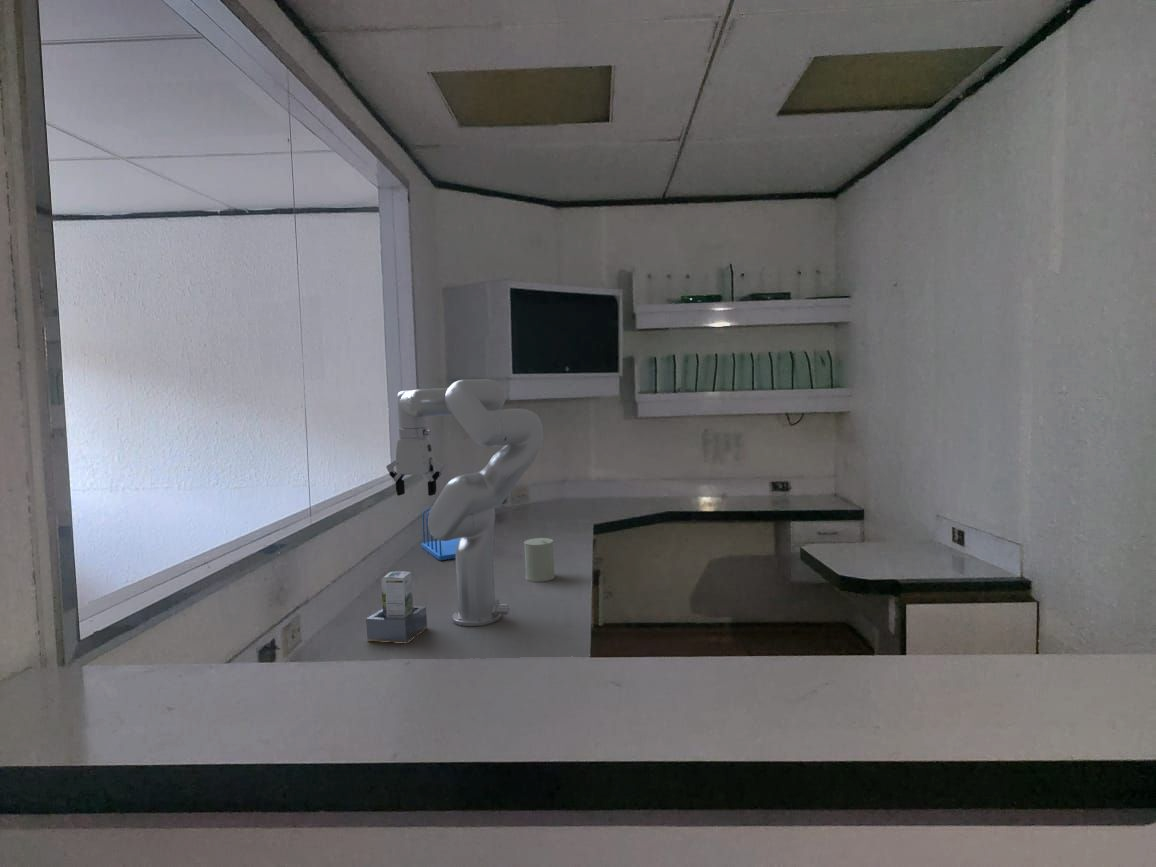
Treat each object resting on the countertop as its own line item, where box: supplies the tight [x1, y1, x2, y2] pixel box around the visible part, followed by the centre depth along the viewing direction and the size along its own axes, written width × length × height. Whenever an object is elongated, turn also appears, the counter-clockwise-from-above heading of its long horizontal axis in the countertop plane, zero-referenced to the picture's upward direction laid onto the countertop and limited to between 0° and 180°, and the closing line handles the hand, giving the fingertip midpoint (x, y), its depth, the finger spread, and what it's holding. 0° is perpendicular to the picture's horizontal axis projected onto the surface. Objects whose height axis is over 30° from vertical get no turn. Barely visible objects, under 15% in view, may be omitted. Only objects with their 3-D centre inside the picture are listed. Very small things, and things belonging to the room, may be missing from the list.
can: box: [523, 537, 556, 583], centre depth 210 cm, size 9×9×12 cm
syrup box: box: [381, 570, 414, 619], centre depth 165 cm, size 6×6×14 cm
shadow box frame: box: [365, 605, 428, 644], centre depth 165 cm, size 10×10×6 cm
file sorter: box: [421, 506, 460, 561], centre depth 249 cm, size 25×17×15 cm
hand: (416, 494), depth 190 cm, fingers open, 9 cm apart
